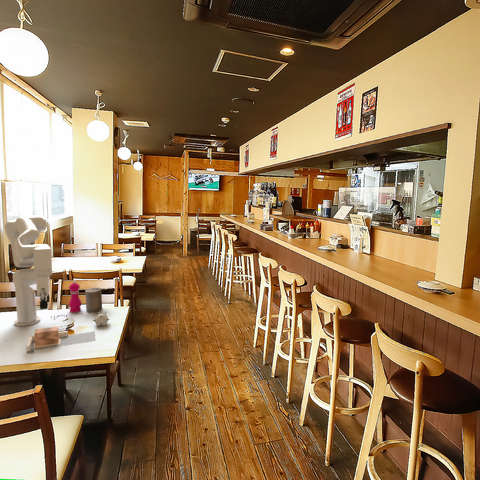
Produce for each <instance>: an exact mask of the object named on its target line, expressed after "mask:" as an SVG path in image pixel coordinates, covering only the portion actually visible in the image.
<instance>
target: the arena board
mask: <svg viewBox="0 0 480 480" xmlns="http://www.w3.org/2000/svg"><path fill="white" fill-rule="evenodd" d="M96 340H97V339H96V332H95V331H89V332H80V333H74V334H69V330H65V331H64V330H63V331H59V343H57V344H50V345H44V346H37V347H35V334H34V335H30V336H29V338H28V341H27V344H26V353H27V354H31V353H34V352H35V351H36V350H37V351H39V350H44V349H50V348H51V349H52V348H57V347H63V346H69V345H70V346H71V345H76V344H83V343H90V342H95V341H96ZM30 352H31V353H30Z"/></svg>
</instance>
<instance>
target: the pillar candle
mask: <svg viewBox="0 0 480 480" xmlns="http://www.w3.org/2000/svg"><path fill="white" fill-rule="evenodd" d="M84 291H85V293H84V294H85V309H86V312H87V313H97V312H100V311H102V310H103V299H102V298H103V297H102V296H103V295H102V288H101V287H90V288H87V289H85V290H84ZM101 309H102V310H101ZM99 310H100V311H99ZM96 311H97V312H96Z"/></svg>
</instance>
